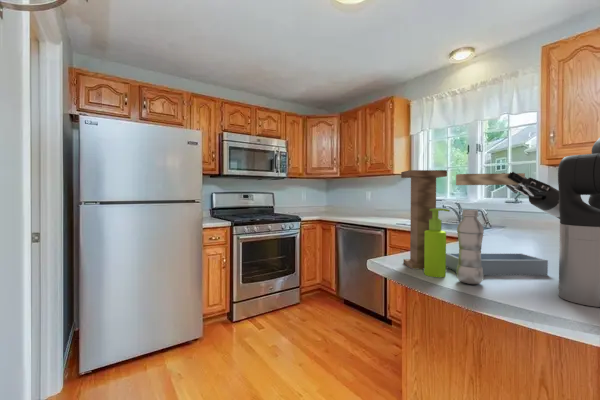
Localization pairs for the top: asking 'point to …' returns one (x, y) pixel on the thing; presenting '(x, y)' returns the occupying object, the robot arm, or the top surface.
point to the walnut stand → (421, 211)
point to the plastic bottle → (470, 248)
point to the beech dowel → (485, 179)
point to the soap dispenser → (435, 247)
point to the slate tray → (505, 264)
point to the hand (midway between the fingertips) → (505, 174)
